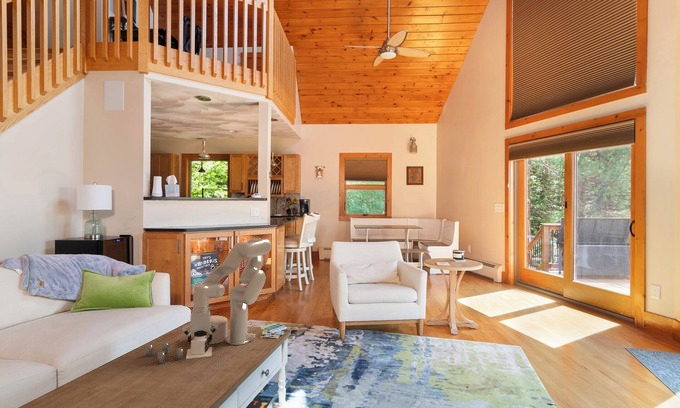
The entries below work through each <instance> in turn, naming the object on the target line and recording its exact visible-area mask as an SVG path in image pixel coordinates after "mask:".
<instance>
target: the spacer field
mask: <svg viewBox="0 0 680 408" xmlns="http://www.w3.org/2000/svg"><path fill="white" fill-rule="evenodd" d="M153 349H154V344H147V345H146V346H145V357H152V356H153V355H154V354H153V353H154V351H153ZM168 353H169V342H168V341H164V342H162V343H161V351H158V352H157V364H158V365H162V364H165V361H166V358H165V357H166V356H165V355H166V354H168ZM175 353H176V358H175V359H176V361H182V360H183V359H184V348H183V347H178V348H176V351H175Z"/></svg>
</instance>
